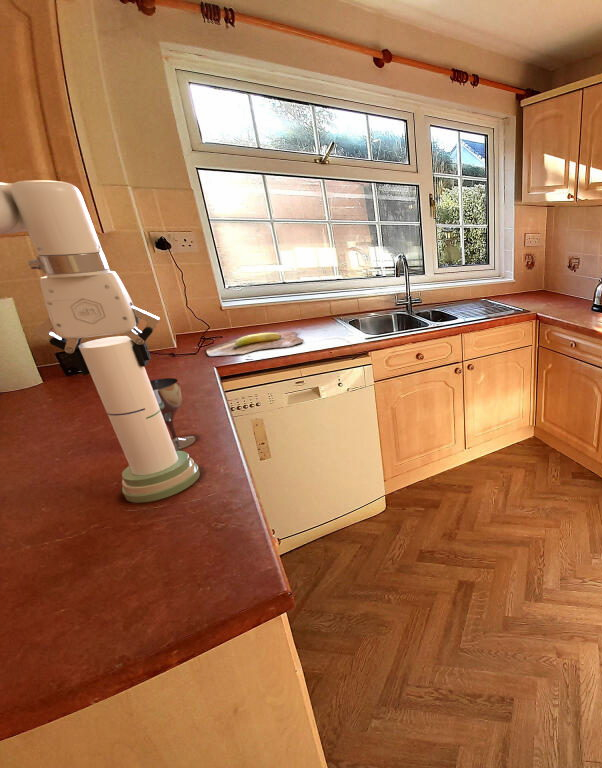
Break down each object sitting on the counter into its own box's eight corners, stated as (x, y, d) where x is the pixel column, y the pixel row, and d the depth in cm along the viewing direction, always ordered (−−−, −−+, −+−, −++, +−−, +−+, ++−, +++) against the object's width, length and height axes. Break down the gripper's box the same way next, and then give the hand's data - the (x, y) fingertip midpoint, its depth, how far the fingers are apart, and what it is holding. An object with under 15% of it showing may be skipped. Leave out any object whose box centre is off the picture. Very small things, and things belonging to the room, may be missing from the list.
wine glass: (185, 432, 104) (165, 376, 98) (205, 439, 101) (185, 381, 95) (148, 447, 98) (124, 388, 92) (168, 455, 94) (144, 394, 89)
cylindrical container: (126, 467, 82) (73, 343, 72) (170, 451, 87) (125, 334, 78) (139, 479, 78) (85, 350, 68) (184, 461, 83) (139, 339, 74)
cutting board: (295, 330, 195) (294, 322, 193) (309, 343, 174) (307, 334, 173) (205, 344, 176) (202, 336, 174) (208, 361, 155) (205, 351, 154)
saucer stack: (108, 499, 80) (98, 479, 78) (166, 464, 91) (159, 446, 89) (160, 505, 78) (152, 485, 76) (214, 469, 89) (208, 451, 87)
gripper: (-13, 272, 61) (41, 385, 68) (138, 263, 69) (174, 365, 76) (12, 267, 67) (59, 371, 74) (148, 259, 75) (180, 354, 82)
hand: (117, 367), depth 75 cm, fingers closed on cylindrical container, 7 cm apart
